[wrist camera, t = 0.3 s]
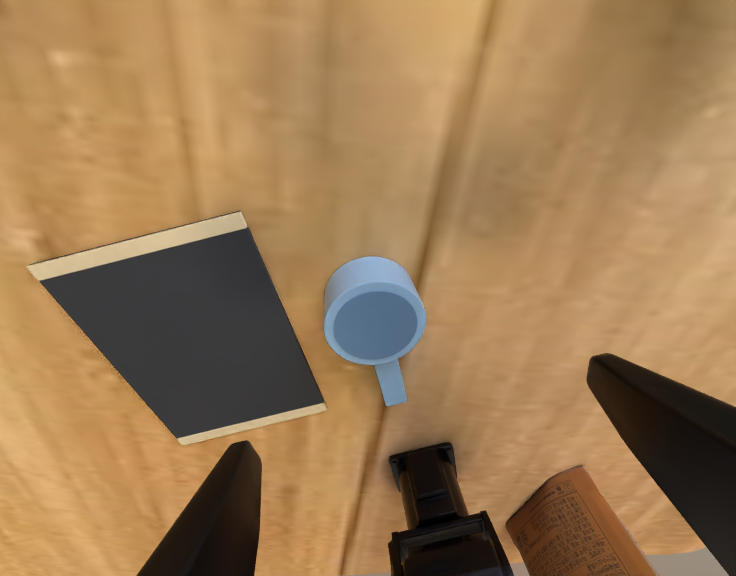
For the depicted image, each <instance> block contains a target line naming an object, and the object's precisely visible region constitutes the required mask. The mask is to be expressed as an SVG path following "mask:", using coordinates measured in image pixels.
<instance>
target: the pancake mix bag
mask: <svg viewBox="0 0 736 576" xmlns="http://www.w3.org/2000/svg"><path fill="white" fill-rule="evenodd" d="M506 528H507V530H508V532H509V534H510V536H511V538H512V540H513V542H514V544H515V545H516V547H517V548H518V549H519V551H520V554H521V556H522V558H523V560H524V563H525V565H526V567H527V570H528V572H529V575H530V576H659V575H658V573H657V572H656V570H655V569H654V568H653V566H652V565H651V563H650V562H649V561H648V559H647V558H646V556H645V555H644V553H643V552H642V551H641V549H640V548H639V546H638V545H637V543H636V541H635V540H634V538H633V537H632V535H631V534H630V532H629V531H628V530H627V528H626V527H625V526H624V524H623V523H622V522H621V520H620V519H619V518H618V516H617V515H616V513H615V512H614V511H613V509H612V508H611V506H610V505H609V504H608V502H607V501H606V500H605V499H604V498H603V496H602V495H601V494H600V493H599V491H598V489H597V487H596V486H595V484H594V482H593V480H592V479H591V477H590V475H589V473H588V471H587V469H586V467H585V466H581V467H577V468H573V469H570V470H567V471H564V472H561V473H559V474H557V475H555V476H554V477H552V478H550V479H549V480H548V481H547V482H546V483H545V484H544V485H543V486H542V487H541V488H540V489H539V490H538V491H537V492H536V494H535V495H534V496H533V497H532V498H531V499H530V500H529V501H528V502H527V503H526V504H525V505H524V506H523V507H522V508H521V509H520V510H519V512H518V513H517V514H515V515H514V516H513V517H512V518H511V519H510V520H509V521H508V522H507V523H506Z"/></svg>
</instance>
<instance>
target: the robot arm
mask: <svg viewBox="0 0 736 576" xmlns="http://www.w3.org/2000/svg"><path fill="white" fill-rule="evenodd" d="M587 384H588V386H589V388H590V390H591V391H592V393H593V394H594V396H595V398H596V399H597V401H598V402H599V404H600V405H601V407H602V408H603V410H604V411H605V413H606V415H607V416H608V418H609V419H610V421H611V422H612V424H613V425H614V427H615V428H616V430H617V432H618V433H619V435H620V436H621V438H622V439H623V441H624V442H625V443H626V445H627V446H628V447H629V449H630V450H631V451H632V453H633V454H634V455H635V457H636V458H637V459H638V460H639V462H640V463H641V464H642V466H643V467H644V468H645V469H646V471H647V472H648V473H649V474H650V476H651V477H652V478H653V479H654V481H655V482H656V483H657V485H658V486H659V487H660V488H661V490H662V491H663V492H664V493H665V495H666V496H667V497H668V499H669V500H670V501H671V502H672V504H673V505H674V506H675V507H676V509H677V510H678V511H679V512H680V514H681V515H682V516H683V518H684V519H685V520H686V521H687V523H688V524H689V525H690V526H691V528H692V529H693V530H694V531H695V533H696V534H697V535H698V537H699V538H700V539H701V540H702V542H703V543H704V544H705V545H706V547H707V548H708V549H709V551H710V552H711V553H712V554H713V556H714V557H715V558H716V559H717V560H718V562H719V563H720V564H721V566H722V567H723V568H724V569H725V571H726V572H727V573H728V574H729V576H736V407H734V406H732V405H730V404H727V403H725V402H723V401H720V400H718V399H716V398H713V397H711V396H709V395H706V394H704V393H702V392H699V391H697V390H695V389H692V388H690V387H688V386H685V385H683V384H681V383H678V382H676V381H674V380H671V379H669V378H667V377H664V376H662V375H660V374H657V373H655V372H653V371H650V370H648V369H646V368H643V367H641V366H639V365H636V364H634V363H632V362H629V361H627V360H625V359H622V358H620V357H618V356H615V355H613V354H610V353H604V354H600V355H596V356H593V357H591V359H590V361H589V367H588V373H587ZM389 462H390V466H391V469H392V472H393V475H394V478H395V481H396V484H397V487H398V490H399V492H401V494H402V500H403V505H404V510H405V516H406V521H407V526H408V530H406V531H402V532H397V531H396V532H392V541H390V542H389V543H388V548H389V555H390V563H391V576H514V574H513V572H512V569H511V567H510V564H509V561H508V559H507V557H506V554H505V552H504V550H503V548H502V545H501V543H500V541H499V539H498V536H497V534H496V532H495V530H494V527H493V525H492V523H491V521H490V519H489V516H488V514H487V512H486V510H485V511H480V513H477V514H473V515H469V514H468V511H467V508H466V505H465V502H464V499H463V496H462V493H461V490H460V487H459V484H458V482H457V472H456V465H455V458H454V451H453V446H452V444H451V443H450V442H446V443H442V444H438V445H434V446H430V447H425V448H421V449H417V450H413V451H409V452H405V453H400V454H396V455H392V456H390V457H389ZM261 476H262V463H261V459H260V457H259V455H258V454H257V452H256V451H255V449H254V448H253V446H252V445H251V443H250V442H249V441H247V440H245V441H241V442H237V443H233V444H232V445H230V446H229V448H228V449H227V450H226V452H225V453H224V454H223V456H222V457H221V459H220V460H219V461H218V463H217V464H216V466H215V467H214V468H213V470H212V471H211V473H210V474H209V475H208V477H207V478H206V480H205V481H204V482H203V484H202V485H201V486H200V488H199V489H198V491H197V492H196V493H195V495H194V496H193V498H192V499H191V500H190V502H189V503H188V505H187V506H186V507H185V509H184V510H183V512H182V513H181V514H180V516H179V517H178V519H177V520H176V521H175V523H174V524H173V526H172V527H171V528H170V530H169V531H168V532H167V534H166V535H165V537H164V538H163V539H162V541H161V542H160V544H159V545H158V546H157V548H156V549H155V551H154V552H153V553H152V555H151V556H150V558H149V559H148V560H147V562H146V563H145V565H144V566H143V567H142V569H141V570H140V571H139V573H138V574H137V576H254V572H255V564H256V556H257V549H258V541H259V531H260V508H261Z"/></svg>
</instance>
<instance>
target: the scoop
mask: <svg viewBox="0 0 736 576" xmlns="http://www.w3.org/2000/svg"><path fill="white" fill-rule="evenodd" d="M425 326H426V312H425V308H424V306H423V303H422V301H421V299H420V297H419V295H418V293H417V290H416V288H415V286H414V284H413V282H412V280H411V278H410V276H409V274H408V273H407V272H406V270H405V269H404V268H403V267H401V266H400V265H399V264H397V263H396V262H394V261H392V260H389V259H386V258H382V257H374V256H370V257H362V258H357V259H354V260H352V261H350V262H347V263H346V264H344V265H342V266H341V267H340V268H339V269H337V270H336V271H335V272H334V273H333V275H332V276H331V277H330V279H329V281H328V283H327V285H326V288H325V292H324V334H325V338H326V340H327V342H328V344H329V345H330V347H331V348H332V349H333V350H334V351H335V352H336V353H337V354H338V355H339V356H341V357H342V358H344V359H346V360H348V361H351V362H354V363H357V364H363V365H374V367H375V370H376V374H377V377H378V381H379V384H380V388H381V391H382V394H383V398H384V401H385V405H386V407H388V406H392V405H396V404H400V403H404V402H407V401H408V400H407V396H406V392H405V387H404V383H403V379H402V375H401V370H400V366H399V362H398V358H400V357H402V356H404V355H405V354H407V353H408V352H409V351H410V350H412V349H413V348H414V347H415V346H416V344H417V343H418V342H419V340H420V339H421V337H422V335H423V333H424V330H425Z"/></svg>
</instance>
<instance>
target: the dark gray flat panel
mask: <svg viewBox="0 0 736 576" xmlns="http://www.w3.org/2000/svg"><path fill="white" fill-rule="evenodd" d="M27 268H28V270H29V271H30V272H31V273H32V274H33V275H34V276H35V278H36V279H37V280H38V281H40V282H41V284H42V285H43V286H44V287H45V288H46V289H47V290H48V292H49V293H50V294H51V295H52V296H53V297H54V299H55V300H56V301H57V302H58V303H59V304H60V305H61V307H62V308H63V309H64V310H65V311H66V312H67V313H68V315H69V316H70V317H71V318H72V319H73V320H74V321H75V323H76V324H77V325H78V326H79V327H80V328H81V329H82V331H83V332H84V333H85V334H86V335H87V336H88V337H89V339H90V340H91V341H92V342H93V343H94V344H95V345H96V347H97V348H98V349H99V350H100V351H101V352H102V353H103V355H104V356H105V357H106V358H107V359H108V360H109V361H110V363H111V364H112V365H113V366H114V367H115V368H116V370H117V371H118V372H119V373H120V374H121V375H122V376H123V378H124V379H125V380H126V381H127V382H128V383H129V384H130V386H131V387H132V388H133V389H134V390H135V391H136V392H137V394H138V395H139V396H140V397H141V398H142V399H143V400H144V402H145V403H146V404H147V405H148V406H149V407H150V408H151V410H152V411H153V412H154V413H155V414H156V415H157V416H158V418H159V419H160V420H161V421H162V422H163V423H164V424H165V426H166V427H167V428H168V429H169V430H170V431H171V432H172V434H173V435H174V436H175V437H176V438H177V440H178V441H179V442H180V443H181V445H182V446H183V445H187V444H192V443H196V442H200V441H204V440H208V439H212V438H216V437H220V436H224V435H229V434H233V433H237V432H241V431H245V430H249V429H253V428H257V427H261V426H266V425H270V424H274V423H278V422H282V421H286V420H290V419H294V418H298V417H303V416H307V415H311V414H315V413H319V412H323V411H327V406H326V404H325V402H324V399H323V397H322V395H321V393H320V390H319V388H318V386H317V383H316V381H315V379H314V377H313V374H312V372H311V370H310V367H309V365H308V363H307V361H306V358H305V356H304V354H303V351H302V349H301V347H300V345H299V342H298V340H297V338H296V335H295V333H294V331H293V329H292V326H291V324H290V322H289V319H288V317H287V315H286V313H285V310H284V308H283V306H282V303H281V301H280V299H279V297H278V294H277V292H276V290H275V287H274V285H273V283H272V281H271V278H270V276H269V274H268V271H267V269H266V267H265V265H264V262H263V260H262V258H261V256H260V253H259V251H258V249H257V246H256V244H255V242H254V240H253V237H252V235H251V233H250V230H249V228H248V226H247V224H246V221H245V219H244V217H243V214H242V212H241V211H237V212H234V213H230V214H226V215H222V216H218V217H214V218H210V219H206V220H202V221H198V222H194V223H191V224H187V225H183V226H179V227H175V228H171V229H167V230H163V231H159V232H155V233H151V234H148V235H144V236H140V237H136V238H132V239H128V240H124V241H120V242H116V243H112V244H108V245H105V246H101V247H97V248H93V249H89V250H85V251H81V252H77V253H73V254H69V255H66V256H62V257H58V258H54V259H50V260H46V261H42V262H38V263H34V264H30V265H29V266H27Z"/></svg>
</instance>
